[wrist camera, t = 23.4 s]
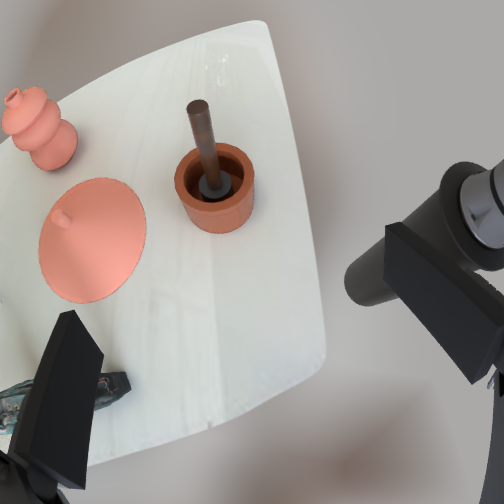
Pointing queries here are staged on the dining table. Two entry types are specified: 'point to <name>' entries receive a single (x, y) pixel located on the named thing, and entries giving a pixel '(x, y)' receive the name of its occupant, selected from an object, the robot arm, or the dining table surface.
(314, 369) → the dining table surface
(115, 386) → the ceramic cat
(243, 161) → the jar
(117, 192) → the ceramic vessels
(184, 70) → the dining table surface
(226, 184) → the pestle
